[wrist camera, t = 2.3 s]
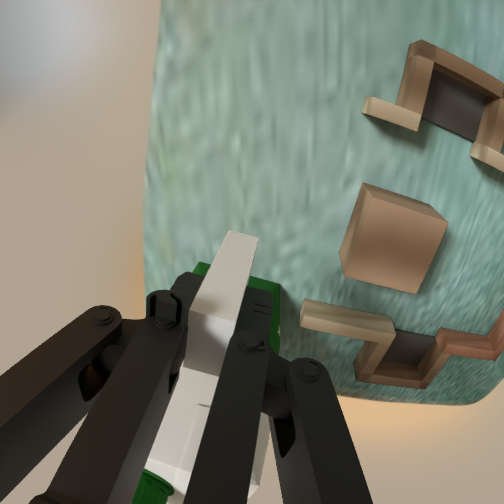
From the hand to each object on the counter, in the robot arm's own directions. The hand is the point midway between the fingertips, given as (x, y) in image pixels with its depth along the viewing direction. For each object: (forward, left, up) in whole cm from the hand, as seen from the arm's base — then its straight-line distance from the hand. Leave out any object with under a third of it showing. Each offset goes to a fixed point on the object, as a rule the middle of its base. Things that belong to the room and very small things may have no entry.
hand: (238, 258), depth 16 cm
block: (0, +10, -10) cm, 14 cm away
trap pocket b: (+11, +17, -9) cm, 23 cm away
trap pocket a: (-12, +12, -9) cm, 20 cm away
